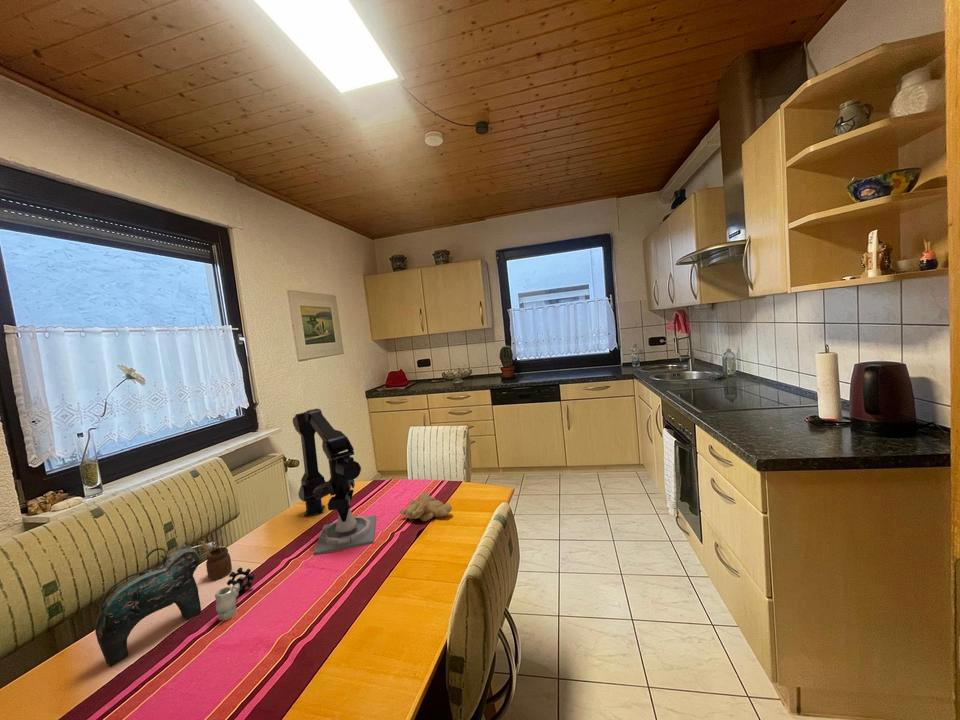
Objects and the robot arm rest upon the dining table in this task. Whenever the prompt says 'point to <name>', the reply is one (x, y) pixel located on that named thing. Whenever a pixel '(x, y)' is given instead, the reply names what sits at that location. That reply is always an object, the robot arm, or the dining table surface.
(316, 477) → the robot arm
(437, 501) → the ginger root
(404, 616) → the dining table surface
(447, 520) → the dining table surface
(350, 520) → the flask
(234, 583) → the valve
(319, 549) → the rubber mat
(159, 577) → the green animal figurine
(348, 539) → the stone ring
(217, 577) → the utensil holder
